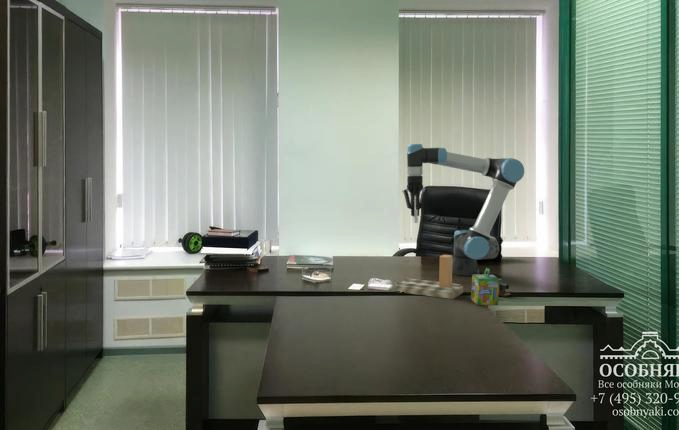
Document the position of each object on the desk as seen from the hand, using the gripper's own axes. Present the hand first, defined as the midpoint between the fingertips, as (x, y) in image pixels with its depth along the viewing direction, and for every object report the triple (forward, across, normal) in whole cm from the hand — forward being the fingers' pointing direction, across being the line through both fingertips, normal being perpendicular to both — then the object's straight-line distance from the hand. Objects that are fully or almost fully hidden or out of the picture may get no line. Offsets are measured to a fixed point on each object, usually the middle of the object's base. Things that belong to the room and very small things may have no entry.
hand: (415, 222), depth 290 cm
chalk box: (+30, -9, +52) cm, 60 cm away
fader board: (+29, +5, +28) cm, 41 cm away
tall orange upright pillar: (+26, 0, +33) cm, 42 cm away
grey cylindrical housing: (+30, -56, -40) cm, 76 cm away
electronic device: (+30, -23, +41) cm, 56 cm away
